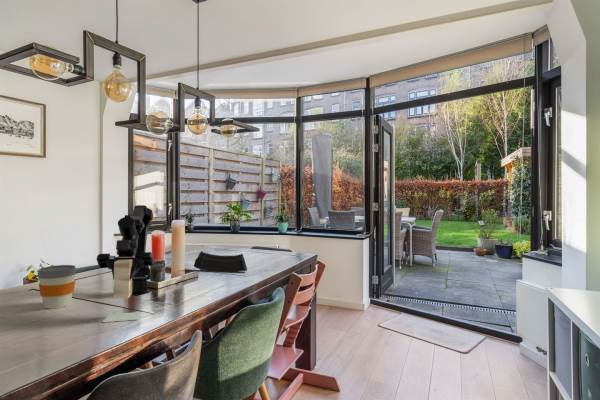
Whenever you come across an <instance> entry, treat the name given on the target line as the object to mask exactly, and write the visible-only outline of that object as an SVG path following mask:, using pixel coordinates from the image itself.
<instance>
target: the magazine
mask: <svg viewBox="0 0 600 400" xmlns="http://www.w3.org/2000/svg"><path fill="white" fill-rule="evenodd" d="M245 260H246V259H245V257H244V254H243V253H240V254H236V255H220V254H211V253H207V252H204V251H203V250H202V251H200V252H199V254H198V255H197V257H196V258H195V261H194V265H193V267H194V268H196V269H198V270H199V271H200V272H201V271H206V272H215V273H237V272H238V273H239V272H246V271H248V268H247V264H246V263H247V262H246V261H245Z"/></svg>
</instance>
